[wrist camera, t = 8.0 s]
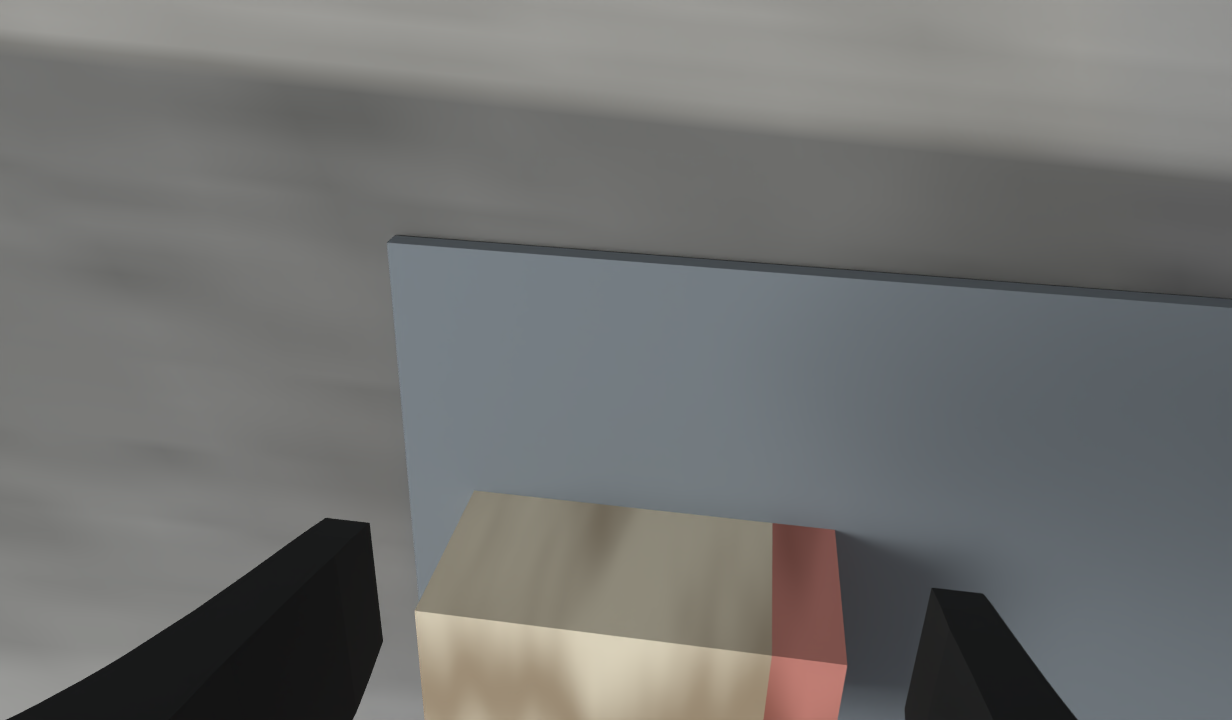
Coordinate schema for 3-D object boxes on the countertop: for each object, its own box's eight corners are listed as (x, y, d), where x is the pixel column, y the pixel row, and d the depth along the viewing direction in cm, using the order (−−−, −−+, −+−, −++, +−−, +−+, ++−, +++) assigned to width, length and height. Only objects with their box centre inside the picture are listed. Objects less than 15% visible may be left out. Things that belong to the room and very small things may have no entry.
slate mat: (1279, 852, 26) (1288, 868, 26) (437, 732, 29) (431, 745, 29) (1553, 323, 19) (1572, 334, 18) (394, 235, 22) (386, 242, 21)
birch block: (817, 831, 21) (429, 774, 22) (810, 682, 25) (481, 639, 26) (847, 665, 19) (414, 610, 20) (834, 529, 23) (474, 490, 24)
